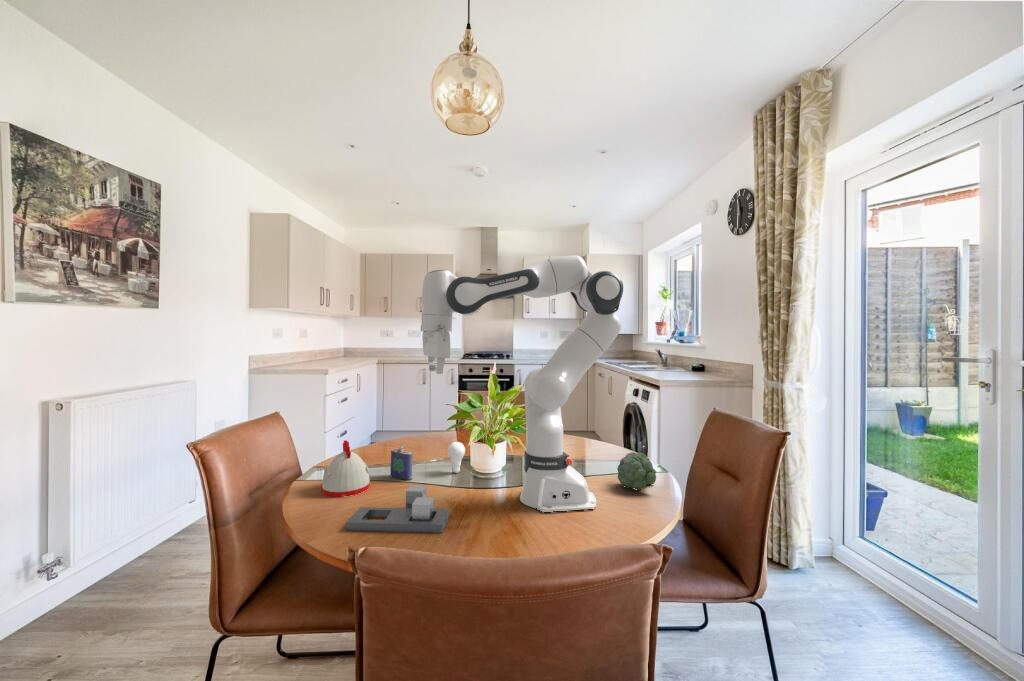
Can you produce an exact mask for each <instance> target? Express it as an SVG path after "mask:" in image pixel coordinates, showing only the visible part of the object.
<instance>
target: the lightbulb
mask: <svg viewBox="0 0 1024 681" xmlns="http://www.w3.org/2000/svg"><path fill="white" fill-rule="evenodd" d="M465 453H466V447H465V446H464V444H463V443H462V442H459V441H455V442H452V443H451V444H449V446H448V447H447V454H448V456H449V459H450V462H451V468H452V472H453V473H455V474H458V473H459V472H460V471H461V463H462V460H463V458H464V456H465Z"/></svg>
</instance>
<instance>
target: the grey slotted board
mask: <svg viewBox="0 0 1024 681" xmlns="http://www.w3.org/2000/svg"><path fill="white" fill-rule="evenodd" d="M379 517H384V518H383V519H384V520H379V519H378V520H376V519H370V518H379ZM385 517H387V518H385ZM368 518H369V519H368ZM367 519H368V520H367ZM449 519H450V509H448V508H444V509H443V508H434V515H433V520H432V522H422V521H412V508H406V507H378V506H377V507H374V506H373V507H371V506H370V507H369V506H367V507H366V506H360V508H358V509H357V510H356V512H354V513H353V514H352V515H351V517H350V518H349V519H348V520H346V522H345V531H354V532H355V531H356V532H357V531H358V532H359V531H360V532H389V533H390V532H391V533H393V532H394V533H395V532H396V533H402V532H403V533H425V532H433V534H434V533H435V534H443V533H444V530H445V528H446V525H447V523H448V521H449Z"/></svg>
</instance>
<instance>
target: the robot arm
mask: <svg viewBox="0 0 1024 681" xmlns="http://www.w3.org/2000/svg"><path fill="white" fill-rule="evenodd" d="M422 282H423V283H422V289H421V290H422V291H421V302H422V311H421V325H420V332H422V351H423V355H424V356H427V361H428V371H429V372H435V373H436V374H437V375H443V373H444V365H445V363H446V359H450V357H451V334H450V332H451V333H452V330H453V328H452V326H453V325H452V324H453V313H458V314H461V315H463V316H472V315H475V314H476V313H479V311H480V310H481V309H482V308H483V306H484V305H485V304H486V303H487V304H488V302H489V303H490V302H491V301H496V300H499V299H504V298H508V297H513V296H518V295H519V296H521V295H522V296H526V297H530V298H533V299H537V298H538V299H539V298H547V297H548V298H549V297H554V296H557V295H560V294H564V293H570V294H571V296H572V298H573V299H574V301H575V303H576V304H577V306H578V307H579V309H580V310H582V311H584V312H586V316H585V318H584V319H583V321H582V322H581V323H580V324H579V325H578V326H577V327H576V328H575V329H574V330H573V331H572V332H571V333H570V335H569V336H568V337H566V339H565V340H563V342H562V343H561V344H560V345H559V346H558V347H557V349H556V351H555V352H554V353H553V355H552V356H551V357H550V359H549V360H548V361H547V362H546V363H545V365H544V366H543V367H537V368H535V369H532V370H531V371H530V372H529V373H528V374H527V376H526V377H525V380H524V411H525V428H526V430H525V431H526V432H525V436H526V438H525V450H524V455H523V469H524V478H523V484H522V488H521V493H520V496H519V500H520V502H521V503H522V504H523V505H525V506H528V507H530V508H532V509H536V508H537V509H536V510H538V511H539V510H540V511H539V512H541V511H542V512H541V513H544V512H551V513H554V512H553V511H567V512H569V511H568V510H578V509H590V508H594V507H595V506H596V507H597V505H596V503H597V498H596V496H595V494H594V493H593V492H592V491H590V490H589V484H588V482H587V480H586V478H585V477H584V476H583V475H582V474H581V473H580V472H579V471H577V470H576V469H575V468H574V467H572V465H573V463H574V461H573V459H572V457H570V455H569V454H568V453H567V452H564V424H563V417H562V409H561V407H563V406H564V405H565V404H567V401H568V399H569V397H570V395H571V394H572V392H574V390H575V389H576V387H577V385H578V384H579V382H580V381H581V379H582V378H583V377H584V375H585V374H586V373H587V371H588V370H590V368H592V366H593V365H594V364H595V363H596V362H597V361H598V360H599V359H600V357H601V356H602V355H603V354H604V353H605V352H606V351H607V350H608V349H609V348H610V346H612V344H613V342H614V341H615V340H616V338H617V336H618V335H619V334H620V332H621V330H622V329H621V328H622V322H621V320H620V319H619V317H618V315H617V314H615V313H616V312H618V311H619V309H620V308H619V307H620V303H621V300H622V297H623V293H624V282H623V281H622V278H620V277H619V275H617V274H616V273H615V272H612V271H608V270H602V271H597V272H595V273H591V272H590V271H589V269H588V266H587V263H586V261H585V260H584V259H583V258H582V257H581V256H579V255H576V254H573V255H572V254H571V255H560V256H555V257H550V258H545V259H542V260H539V261H536V262H533V263H531V264H528V265H525V266H524V267H522V268H520V269H518V270H516V271H512V272H508V273H504V274H500V275H495V276H494V275H493V276H491V277H486V278H476V277H471V276H460V277H458V276H457V275H455V274H453V273H452V272H451V271H450V270H447V269H437V270H432V271H429V272H428V273H427V274H426V275H424V278H423V280H422Z"/></svg>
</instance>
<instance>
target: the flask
mask: <svg viewBox="0 0 1024 681" xmlns="http://www.w3.org/2000/svg"><path fill="white" fill-rule="evenodd" d="M404 449H405V446H398V447H397V448H395V449H391V451H390V473H389V474H390V477H391V476H392V477H391V478H393V477H394V479H397V480H401V479H402V480H403V481H411V480H413V457H414V456H413V452H409V451H404Z"/></svg>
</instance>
